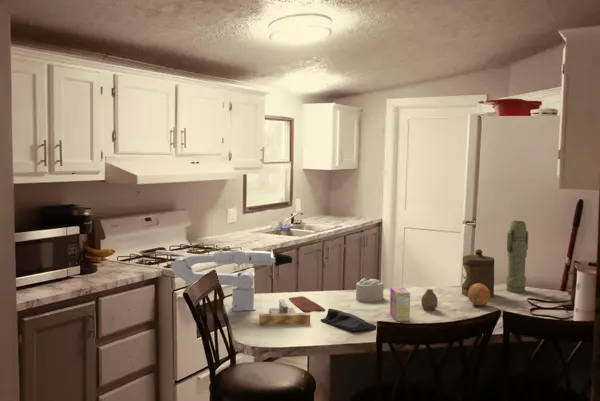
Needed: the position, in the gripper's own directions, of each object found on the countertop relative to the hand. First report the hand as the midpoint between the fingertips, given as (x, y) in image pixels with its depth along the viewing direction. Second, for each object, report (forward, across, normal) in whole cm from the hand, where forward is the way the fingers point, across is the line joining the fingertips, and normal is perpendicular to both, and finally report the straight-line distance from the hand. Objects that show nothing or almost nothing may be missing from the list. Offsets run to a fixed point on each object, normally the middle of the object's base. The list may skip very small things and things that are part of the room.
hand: (291, 259), depth 240 cm
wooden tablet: (+8, +8, +21) cm, 24 cm away
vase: (+61, -3, +19) cm, 64 cm away
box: (+45, -15, +21) cm, 52 cm away
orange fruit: (+85, +3, +17) cm, 87 cm away
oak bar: (-3, -20, +24) cm, 32 cm away
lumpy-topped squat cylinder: (+38, +18, +18) cm, 46 cm away
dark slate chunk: (+23, -22, +23) cm, 39 cm away
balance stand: (-3, -9, +22) cm, 24 cm away
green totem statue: (+115, +29, +13) cm, 120 cm away
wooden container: (+93, +22, +15) cm, 96 cm away
